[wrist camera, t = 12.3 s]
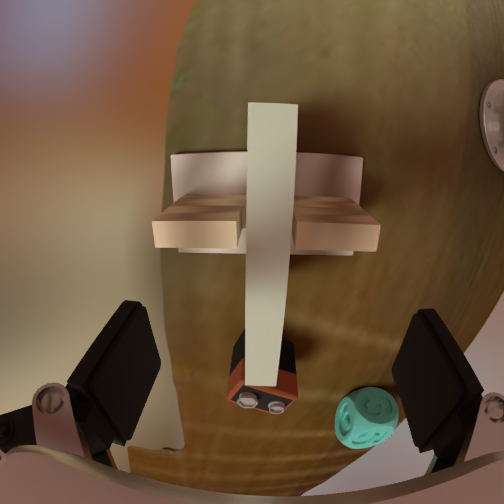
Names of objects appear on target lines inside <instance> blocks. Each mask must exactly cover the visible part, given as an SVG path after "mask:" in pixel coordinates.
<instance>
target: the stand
mask: <svg viewBox="0 0 504 504" xmlns="http://www.w3.org/2000/svg"><path fill="white" fill-rule="evenodd" d="M362 167H363V158H362V157H358V156H347V155H336V154H322V153H304V152H296V170H295V188H294V205H293V220H292V234H291V247H290V254H301V255H353V251H376V250H377V245H378V239H379V232H380V226H381V225H380V224H379V223H378V222H377V221H376V220H374V219H373V218H372V217H371V216H370V215H369V214H368V213H367V212H366V211H364V210H363V209H362V208H361V207H360V206H359V202H360V192H361V180H362ZM171 169H172V184H173V198H174V203H173V204H172V205H171V206H169V207H168V208H167V209H166V210H165V211H163V212H162V213H161V214H160V215H159V216H158V217H157V218H155V219H154V220H153V221H152V225H153V234H154V241H155V247H160V248H178V249H179V252H193V253H245V254H246V206H247V151H229V152H200V153H183V154H173V155H171Z"/></svg>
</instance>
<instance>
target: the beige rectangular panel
mask: <svg viewBox="0 0 504 504" xmlns="http://www.w3.org/2000/svg"><path fill="white" fill-rule="evenodd" d="M297 121H298V105H296V104H279V103H248V140H247V206H246V301H245V385H252V386H276V383H277V375H278V367H279V358H280V350H281V341H282V332H283V323H284V313H285V304H286V293H287V282H288V271H289V260H290V247H291V234H292V220H293V205H294V188H295V170H296V148H297Z"/></svg>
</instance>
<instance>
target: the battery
mask: <svg viewBox="0 0 504 504" xmlns="http://www.w3.org/2000/svg"><path fill="white" fill-rule="evenodd" d="M297 398H298V389H297V377H296V365H295V354H294V345H293V344H292V343H290V342H288V341H285V340H283V339H282V341H281V350H280V358H279V367H278V375H277V383H276V386H252V385H245V330H244V331H243V333H242V334H241V336H240V337H239V339H238V341H237V342H236V344H235V345H234V348H233V355H232V361H231V368H230V374H229V381H228V388H227V394H226V399H227V400H228V401H231V402H234V403H237V404H239V405H240V406H242V407H243V408H253V409H257V410H260V411H264V412H268V413H272V414H276V415H279V414H281V413H282V412H283V411H284V410H285V409H287V408H288V407H289V406H290V405H291V404H292V403H293V402H294V401H295V400H296V399H297Z"/></svg>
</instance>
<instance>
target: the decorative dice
mask: <svg viewBox="0 0 504 504" xmlns="http://www.w3.org/2000/svg"><path fill="white" fill-rule="evenodd" d="M397 422H398V406H397V403H396V401H395V399H394V398H393V397H392V396H391V395H390V394H389V393H388V392H386V391H385V390H383V389H380V388H376V387H365V388H361V389H358V390H355V391H353V392H351V393H349V394H348V395H346V396H345V397H344V398H343V399H342V400H341V402H340V403H339V405H338V408H337V411H336V416H335V432H336V436H337V438H338V439H339V440H340V441H341V442H342V443H343V444H344V445H346V446H348V447H350V448H353V449H361V448H367V447H371V446H374V445H377V444H379V443H381V442H383V441H384V440H386V439H387V438H389V437H390V436H391V435H392V433H393V432H394V430H395V428H396V426H397Z"/></svg>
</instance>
